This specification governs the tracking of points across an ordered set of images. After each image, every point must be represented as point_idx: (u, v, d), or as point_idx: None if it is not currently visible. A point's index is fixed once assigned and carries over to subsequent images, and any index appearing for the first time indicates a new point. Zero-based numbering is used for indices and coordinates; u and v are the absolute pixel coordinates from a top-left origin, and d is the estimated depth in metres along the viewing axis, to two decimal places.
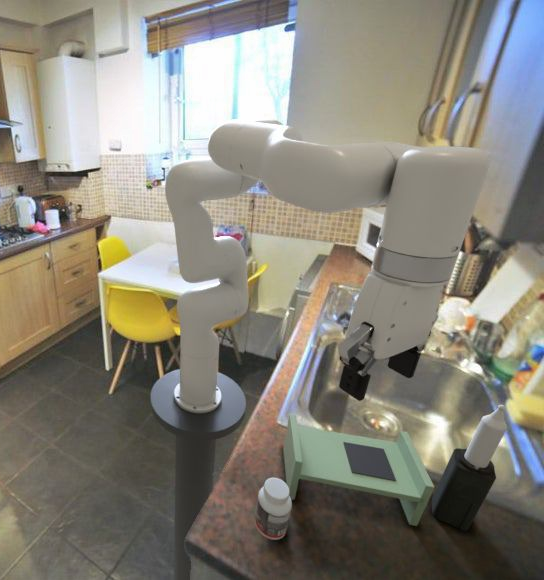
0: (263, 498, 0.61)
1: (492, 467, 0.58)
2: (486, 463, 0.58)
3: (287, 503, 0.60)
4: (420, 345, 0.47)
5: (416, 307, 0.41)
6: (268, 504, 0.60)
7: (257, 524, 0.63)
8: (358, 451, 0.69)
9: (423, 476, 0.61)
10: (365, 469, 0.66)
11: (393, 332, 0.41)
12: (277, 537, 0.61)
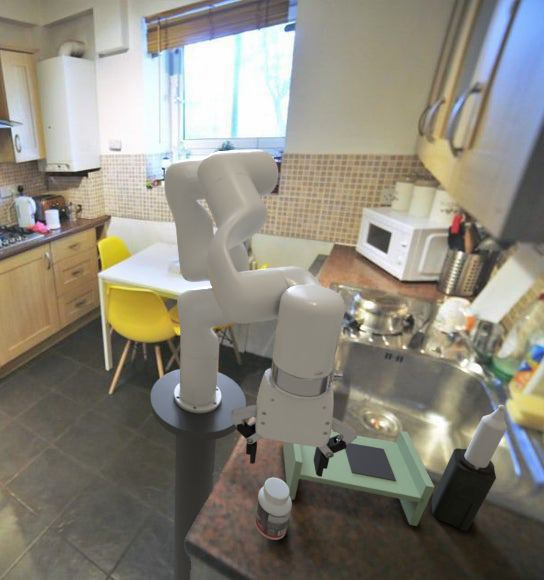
0: (263, 498, 0.61)
1: (492, 467, 0.58)
2: (486, 463, 0.58)
3: (287, 503, 0.60)
4: (325, 450, 0.53)
5: (287, 408, 0.50)
6: (268, 504, 0.60)
7: (257, 524, 0.63)
8: (358, 451, 0.69)
9: (423, 476, 0.61)
10: (365, 469, 0.66)
11: (266, 419, 0.52)
12: (277, 537, 0.61)
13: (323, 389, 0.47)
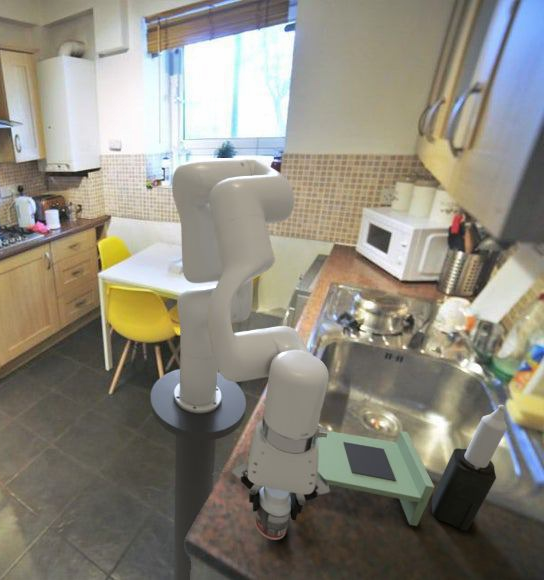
0: (263, 498, 0.61)
1: (492, 467, 0.58)
2: (486, 463, 0.58)
3: (287, 503, 0.60)
4: (298, 499, 0.58)
5: (276, 461, 0.55)
6: (268, 504, 0.60)
7: (257, 524, 0.63)
8: (358, 451, 0.69)
9: (423, 476, 0.61)
10: (365, 469, 0.66)
11: (257, 469, 0.57)
12: (277, 537, 0.61)
13: (309, 447, 0.52)
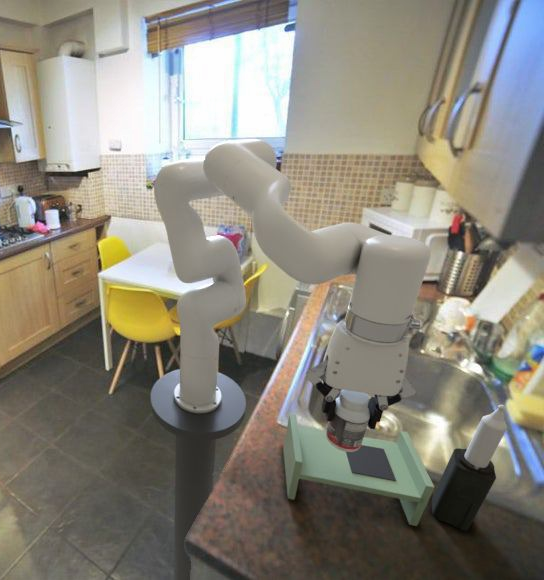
0: (339, 407, 0.58)
1: (492, 467, 0.58)
2: (486, 463, 0.58)
3: (366, 411, 0.57)
4: (380, 403, 0.55)
5: (361, 356, 0.52)
6: (345, 412, 0.57)
7: (330, 437, 0.60)
8: (358, 451, 0.69)
9: (423, 476, 0.61)
10: (365, 469, 0.66)
11: (339, 368, 0.54)
12: (353, 448, 0.59)
13: (402, 336, 0.49)
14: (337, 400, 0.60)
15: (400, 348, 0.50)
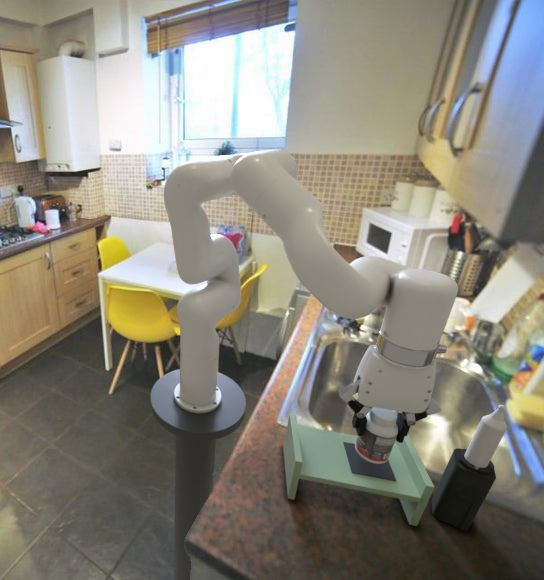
0: (369, 422, 0.63)
1: (492, 467, 0.58)
2: (486, 463, 0.58)
3: (394, 426, 0.62)
4: (408, 419, 0.61)
5: (393, 378, 0.57)
6: (376, 427, 0.62)
7: (360, 450, 0.65)
8: None
9: (423, 476, 0.61)
10: (365, 469, 0.66)
11: (371, 388, 0.59)
12: (382, 460, 0.64)
13: (431, 360, 0.54)
14: (367, 416, 0.65)
15: (429, 371, 0.55)
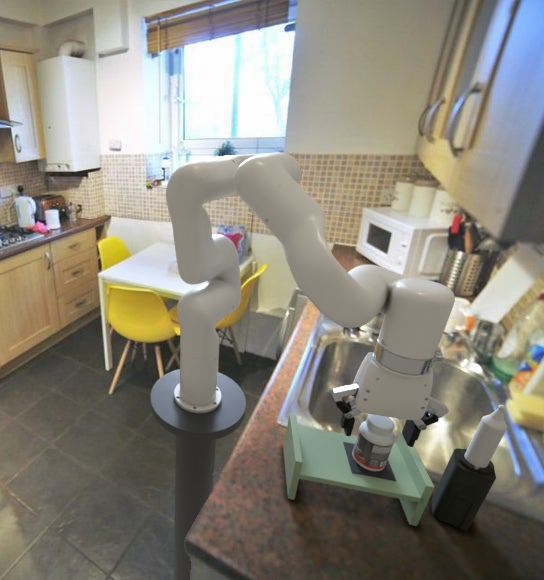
0: (366, 430, 0.64)
1: (492, 467, 0.58)
2: (486, 463, 0.58)
3: (391, 434, 0.63)
4: (419, 423, 0.60)
5: (390, 386, 0.58)
6: (372, 435, 0.63)
7: (357, 458, 0.66)
8: None
9: (423, 476, 0.61)
10: (365, 469, 0.66)
11: (369, 396, 0.60)
12: (379, 468, 0.65)
13: (428, 369, 0.55)
14: (364, 424, 0.65)
15: (426, 379, 0.56)
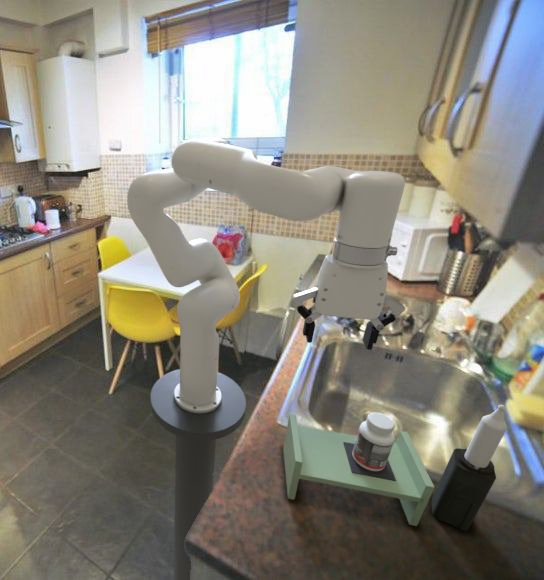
0: (366, 430, 0.64)
1: (492, 467, 0.58)
2: (486, 463, 0.58)
3: (391, 434, 0.63)
4: (376, 323, 0.61)
5: (347, 282, 0.59)
6: (372, 435, 0.63)
7: (357, 458, 0.66)
8: None
9: (423, 476, 0.61)
10: (365, 469, 0.66)
11: (327, 295, 0.61)
12: (379, 468, 0.65)
13: (381, 260, 0.56)
14: (364, 424, 0.65)
15: (380, 272, 0.57)
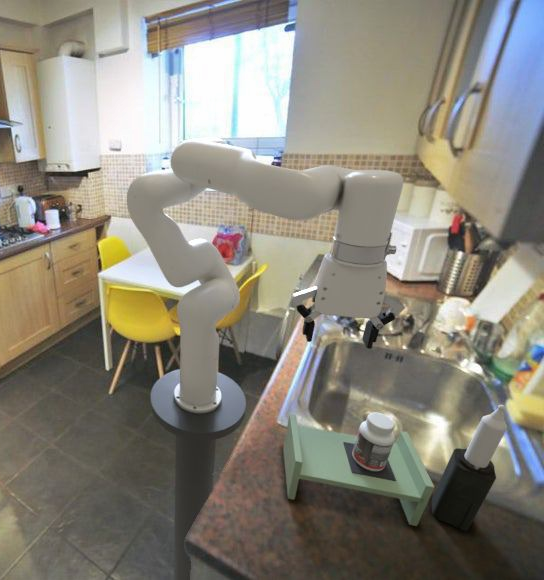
0: (366, 430, 0.64)
1: (492, 467, 0.58)
2: (486, 463, 0.58)
3: (391, 434, 0.63)
4: (376, 322, 0.61)
5: (346, 281, 0.59)
6: (372, 435, 0.63)
7: (357, 458, 0.66)
8: None
9: (423, 476, 0.61)
10: (365, 469, 0.66)
11: (326, 294, 0.61)
12: (379, 468, 0.65)
13: (380, 258, 0.56)
14: (364, 424, 0.65)
15: (379, 271, 0.57)
